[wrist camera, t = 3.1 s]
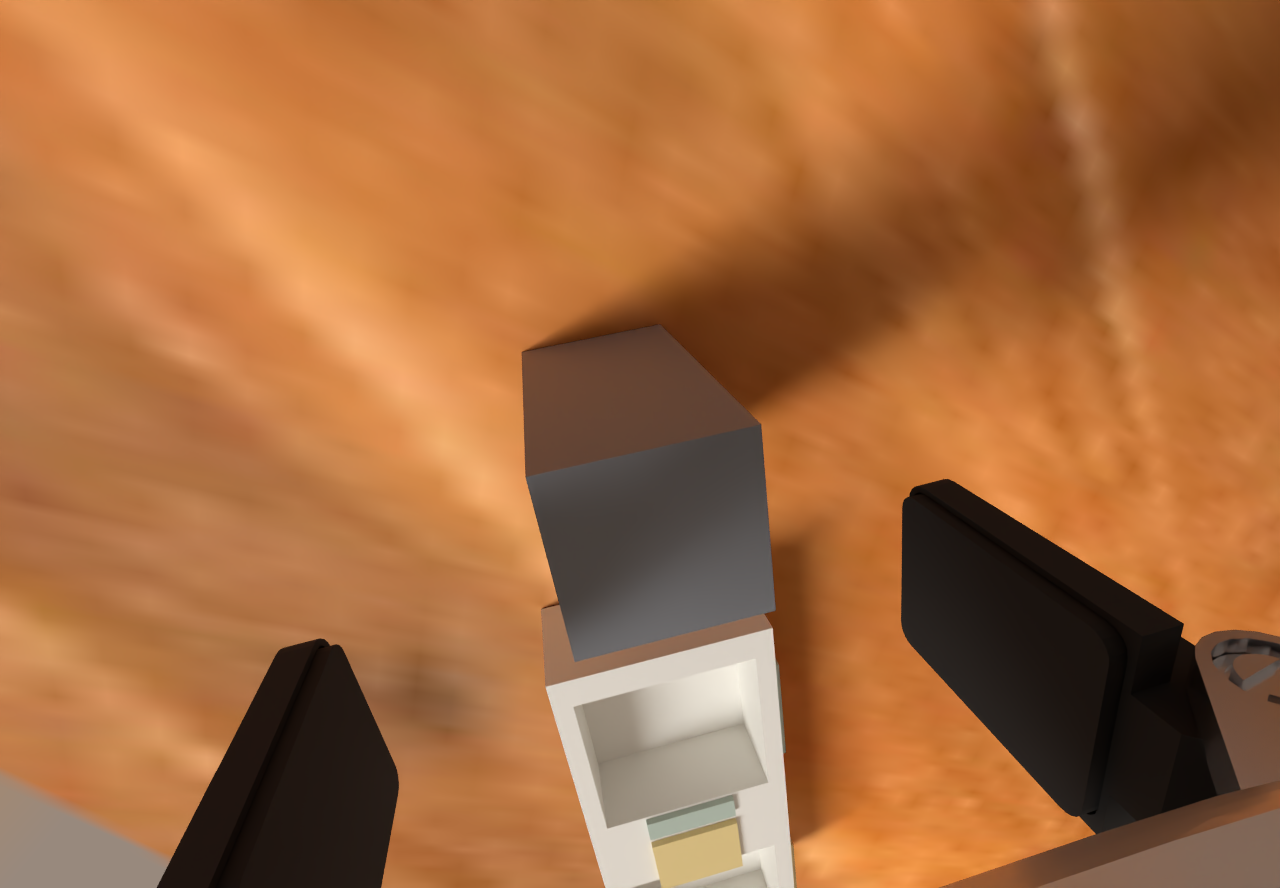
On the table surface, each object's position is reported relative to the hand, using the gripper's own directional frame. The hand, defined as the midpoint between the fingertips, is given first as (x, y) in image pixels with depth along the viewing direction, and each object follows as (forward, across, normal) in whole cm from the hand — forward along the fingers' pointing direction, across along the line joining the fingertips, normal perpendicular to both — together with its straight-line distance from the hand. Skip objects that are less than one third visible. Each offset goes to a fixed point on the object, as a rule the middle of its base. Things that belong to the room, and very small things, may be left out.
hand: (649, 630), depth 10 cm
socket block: (+10, -1, +14) cm, 17 cm away
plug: (+9, -1, -1) cm, 9 cm away
